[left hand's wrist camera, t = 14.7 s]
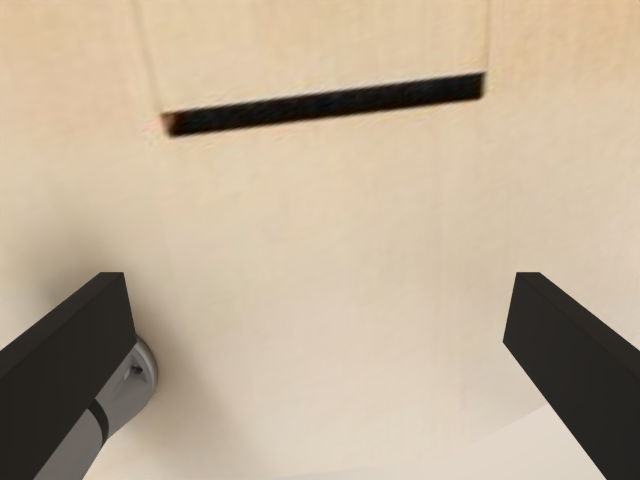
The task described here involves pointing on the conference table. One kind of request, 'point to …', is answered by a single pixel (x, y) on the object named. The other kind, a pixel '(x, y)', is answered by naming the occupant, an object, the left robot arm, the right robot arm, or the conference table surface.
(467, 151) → the conference table surface
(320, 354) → the conference table surface
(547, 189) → the conference table surface
